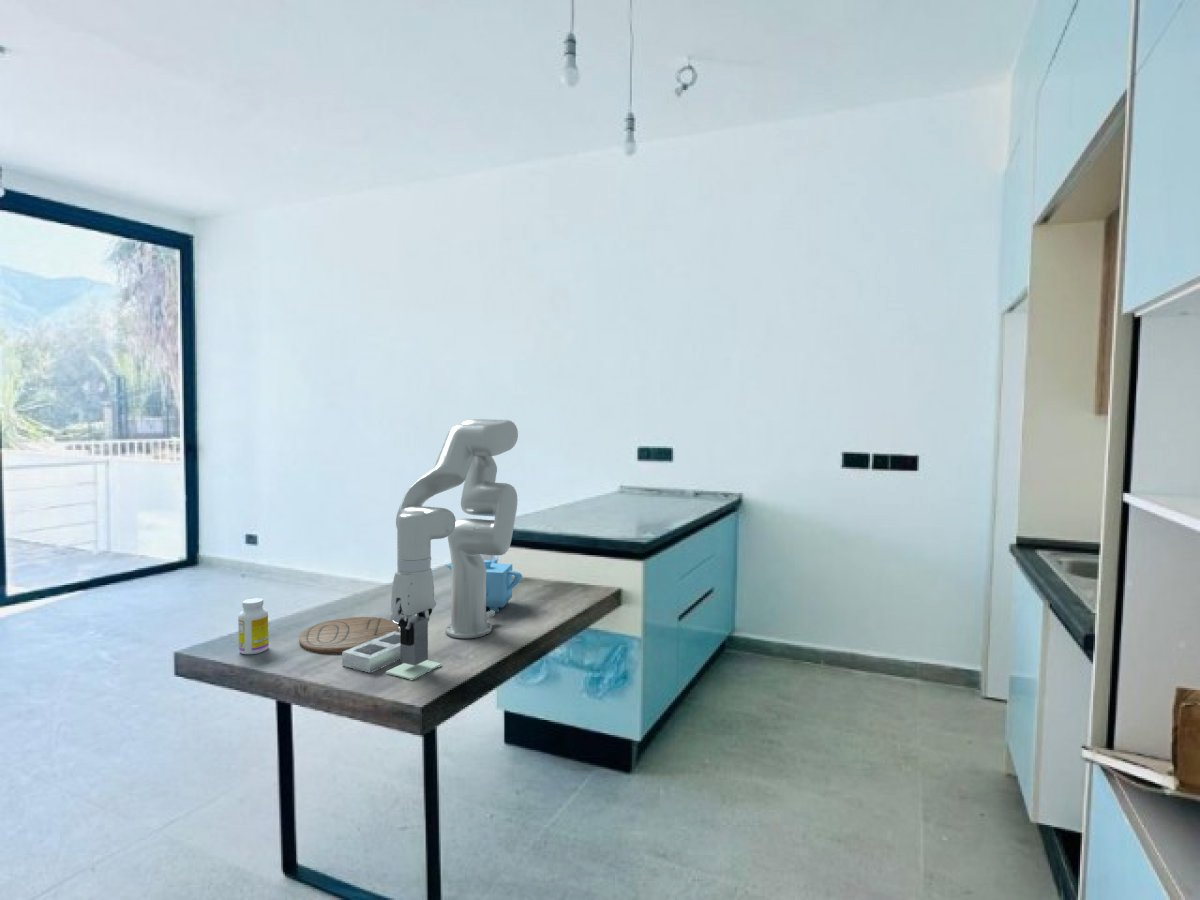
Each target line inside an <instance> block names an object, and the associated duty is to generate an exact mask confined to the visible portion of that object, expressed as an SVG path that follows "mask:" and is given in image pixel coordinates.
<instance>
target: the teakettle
mask: <svg viewBox="0 0 1200 900" xmlns="http://www.w3.org/2000/svg"><path fill="white" fill-rule="evenodd" d="M498 560H499V557H494V558H492V560H489V559H484V560H483V561H484V563H485V566H486V608H488V611H489V610H493V611H498V610H499V611H500V609H499V608H504V607H505V606H506V605H507V604H508V603H509V602H510V600H511V599H512V598H513V588H515V587H516V586H517V585H518V584H519V583H520V582H521V581H522V578H523V574H522V573H521V572H519V571H516V570H513V564H512V563H498ZM444 566H445V567H447V568H449V570H451V564H444ZM513 576H514V579H513ZM499 611H498V612H499Z"/></svg>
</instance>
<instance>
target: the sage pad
mask: <svg viewBox="0 0 1200 900" xmlns="http://www.w3.org/2000/svg"><path fill="white" fill-rule="evenodd" d="M440 665H441V666H442V663H441V662H437V661H432V660H426V661H424V662H421V663H419V664H417V665H415V666H414V665H410V664H406V663H400V664H399V665H397V666H395V667H393V668H390V669H389V670H386V671H385V674H386V673H387V674H392V675H396V676H400V677H404V678H408V679H414V678H416V677H418V676H420V675H422V674H424V673H426V672H428V671H430V670H432V669H435V668H436V667H438V666H440ZM435 670H436V669H435ZM387 674H386V675H387Z"/></svg>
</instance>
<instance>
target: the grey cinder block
mask: <svg viewBox="0 0 1200 900" xmlns="http://www.w3.org/2000/svg"><path fill="white" fill-rule="evenodd" d="M399 659H400V632H399V631H398V632H396V631H394V632H391V633H389V634H386V635H384V636H381V637H378V638H376V639H373V640H371V641H368V642H366V643H363V644H361V645H358V646H356V647H353V648H351V649H348V650H345V651H343V652H342V654H341V667H343V666H345V667H344V668H347V667H349V668H348V669H351V668H353V669H352V670H355V669H357V670H356V671H359V670H362V671H365V672H364V673H366V672H369V673H368V674H371V673H370V672H372V671H374V670H376V671H378V670H380V669H379V668H381V667H383V666H385V665H387V666H389V665H388V664H390V663H392V662H394V661H396V662H398V661H400V660H399ZM397 660H398V661H397ZM394 663H395V662H394ZM392 664H393V663H392ZM390 665H391V664H390ZM385 667H386V666H385ZM383 668H384V667H383ZM377 669H378V670H377ZM381 669H382V668H381ZM362 671H361V672H362ZM374 672H375V671H374ZM372 673H373V672H372Z"/></svg>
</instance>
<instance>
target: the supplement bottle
mask: <svg viewBox="0 0 1200 900" xmlns="http://www.w3.org/2000/svg"><path fill="white" fill-rule="evenodd" d="M241 605H242V608H243V609H242V611H240V612H239V613H238V616H237V617H238V618H237V619H238V621H237V624H238V651H239V653H240V654H243V655H257V654H260V653H264V652H266V651H267V650H268V649H269V612H268V610H267V609H266V608H264V607H263V606H264V599H263V598H260V597H255V598H253V597H252V598H248V599H244V600H243V601H242V604H241Z"/></svg>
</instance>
